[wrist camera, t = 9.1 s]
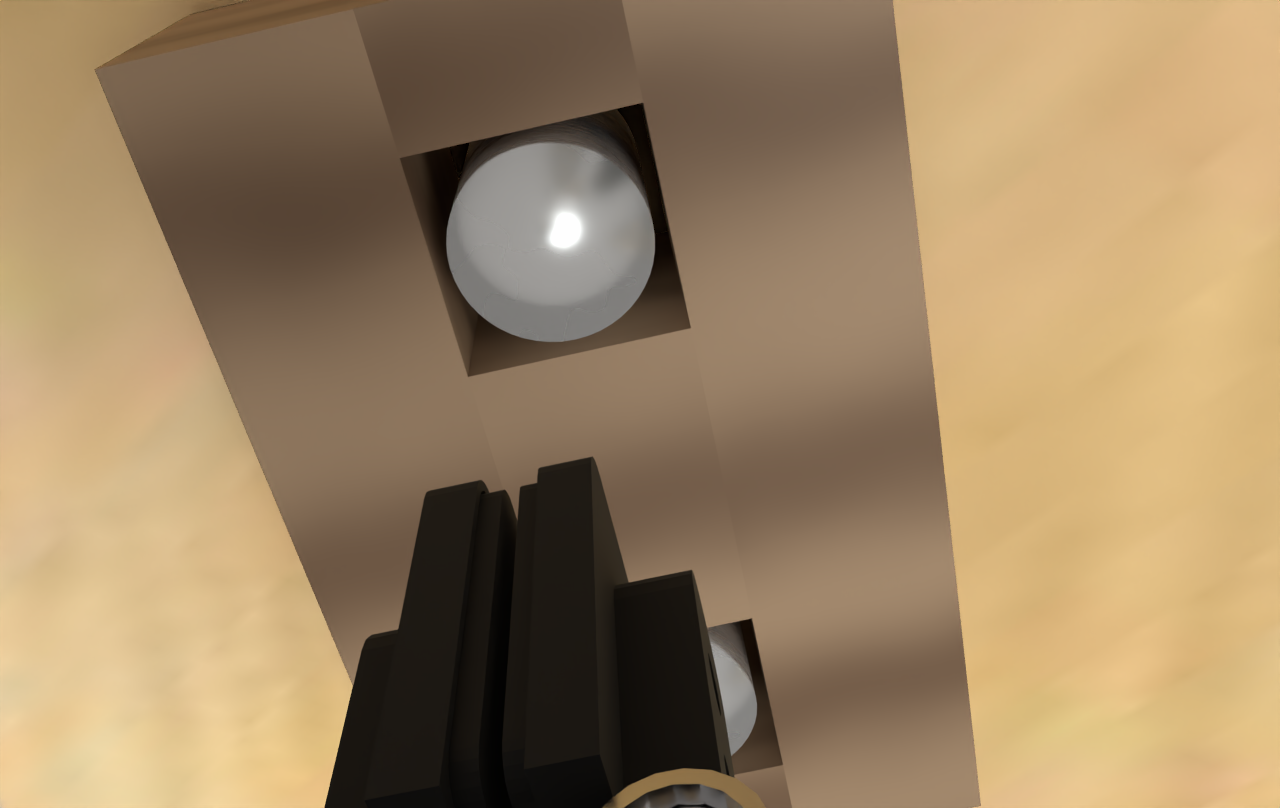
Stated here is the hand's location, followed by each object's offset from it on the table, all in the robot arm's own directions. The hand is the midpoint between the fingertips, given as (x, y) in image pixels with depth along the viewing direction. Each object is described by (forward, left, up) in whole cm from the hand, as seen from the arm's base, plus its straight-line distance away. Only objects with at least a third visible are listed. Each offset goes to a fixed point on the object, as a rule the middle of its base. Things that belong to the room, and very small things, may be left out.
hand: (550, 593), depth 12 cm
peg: (+1, 0, -18) cm, 18 cm away
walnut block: (+7, 0, -18) cm, 19 cm away
